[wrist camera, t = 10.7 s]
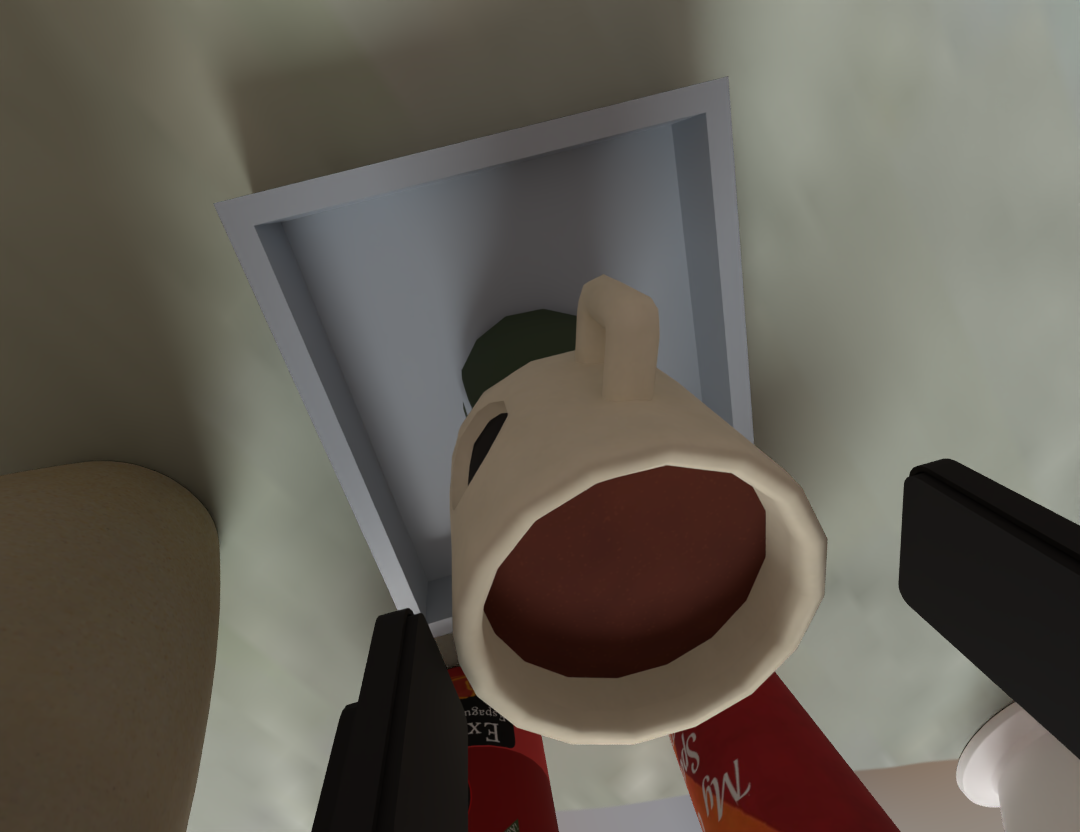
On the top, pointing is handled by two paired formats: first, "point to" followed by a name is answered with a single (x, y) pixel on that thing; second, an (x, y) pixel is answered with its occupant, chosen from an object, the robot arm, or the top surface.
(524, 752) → the canned food
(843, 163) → the top surface
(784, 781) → the paper cup
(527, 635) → the character mug
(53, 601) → the plant pot
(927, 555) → the robot arm
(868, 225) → the top surface
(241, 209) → the grey bin
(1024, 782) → the decorative vase
